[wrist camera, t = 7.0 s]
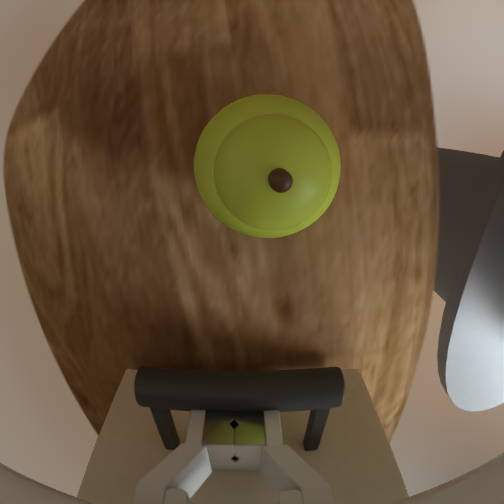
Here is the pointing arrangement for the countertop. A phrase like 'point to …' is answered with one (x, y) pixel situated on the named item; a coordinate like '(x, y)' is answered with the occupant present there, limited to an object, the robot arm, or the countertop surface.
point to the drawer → (246, 399)
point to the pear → (267, 166)
